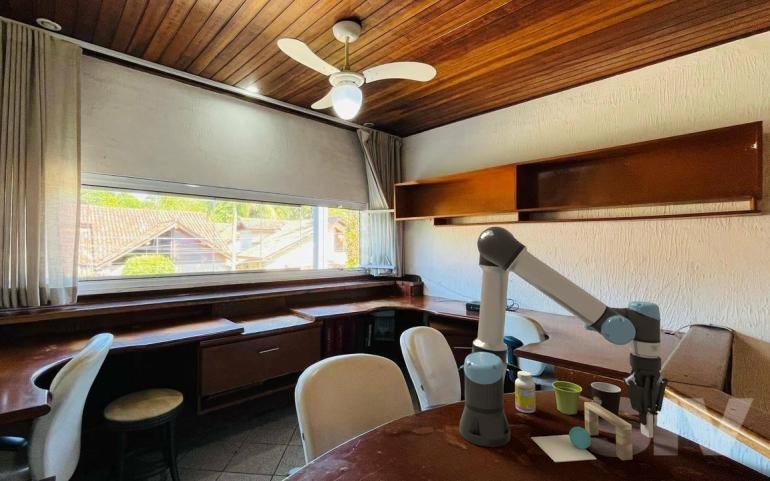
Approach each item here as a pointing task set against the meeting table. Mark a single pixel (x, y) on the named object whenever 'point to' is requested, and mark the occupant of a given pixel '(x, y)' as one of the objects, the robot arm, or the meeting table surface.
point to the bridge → (621, 426)
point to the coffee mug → (606, 396)
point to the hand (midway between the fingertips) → (647, 434)
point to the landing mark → (562, 449)
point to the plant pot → (567, 396)
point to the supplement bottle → (525, 392)
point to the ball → (580, 437)
